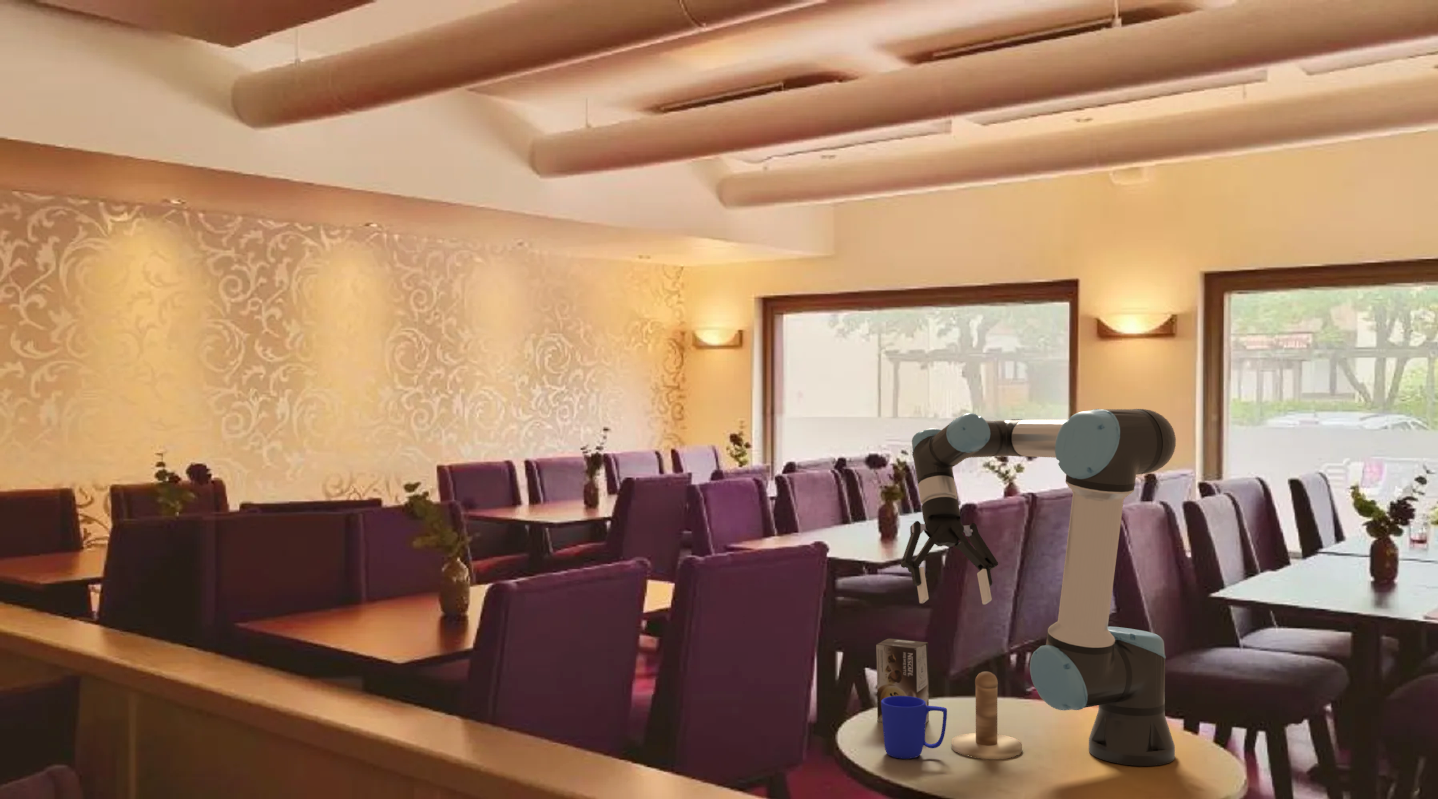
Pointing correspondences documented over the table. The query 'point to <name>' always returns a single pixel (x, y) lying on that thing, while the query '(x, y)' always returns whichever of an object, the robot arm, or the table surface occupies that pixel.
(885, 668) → the coffee box
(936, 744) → the mug
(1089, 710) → the table surface
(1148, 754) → the robot arm
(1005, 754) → the wooden peg on disc
